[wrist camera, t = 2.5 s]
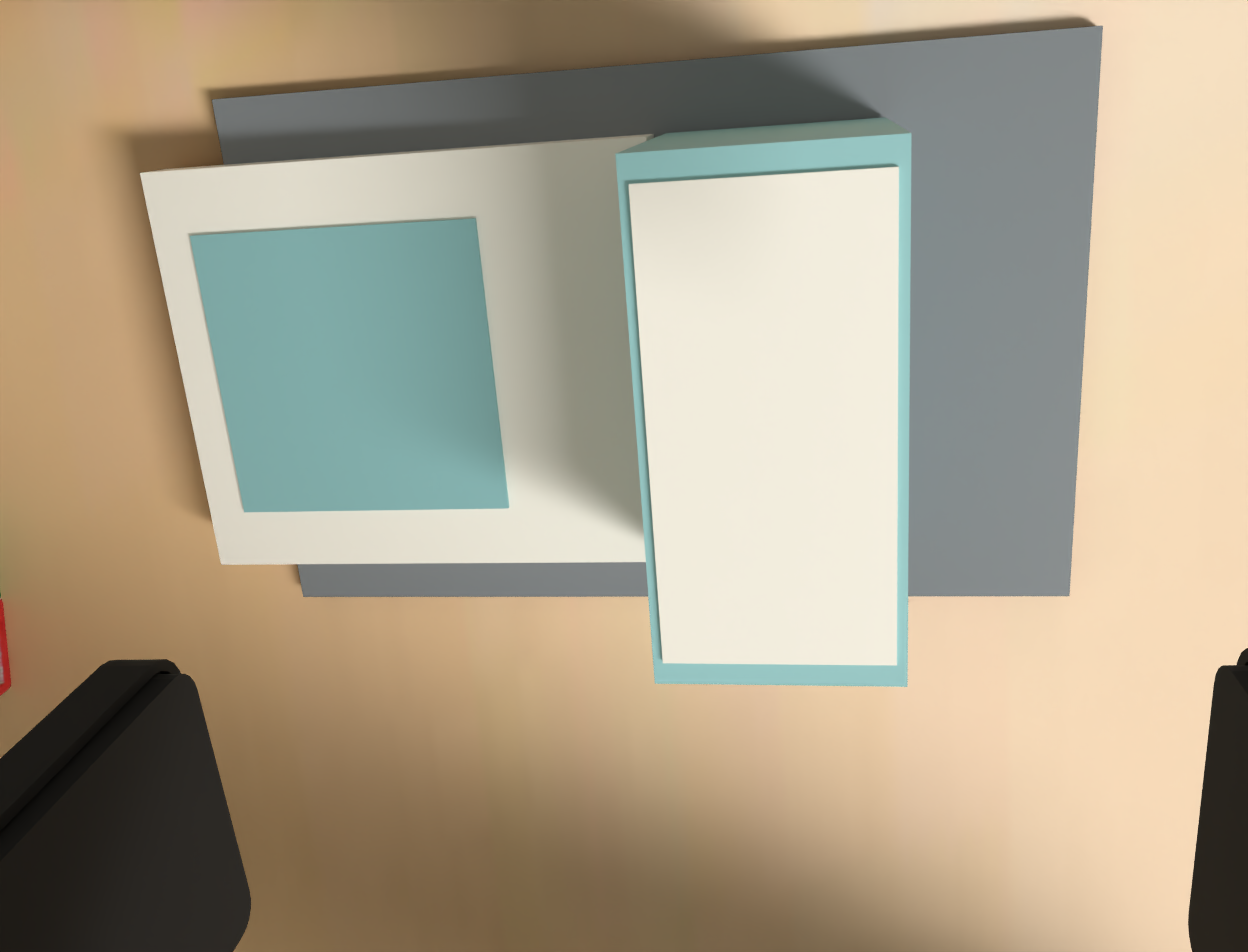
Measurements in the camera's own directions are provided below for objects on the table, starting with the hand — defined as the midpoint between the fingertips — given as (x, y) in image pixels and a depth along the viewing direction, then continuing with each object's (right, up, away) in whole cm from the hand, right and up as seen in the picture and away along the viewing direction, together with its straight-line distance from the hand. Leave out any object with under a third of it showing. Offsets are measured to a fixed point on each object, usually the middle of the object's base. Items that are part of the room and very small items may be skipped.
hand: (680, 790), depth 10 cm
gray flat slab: (-1, +6, +17) cm, 18 cm away
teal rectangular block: (+3, +6, +17) cm, 18 cm away
